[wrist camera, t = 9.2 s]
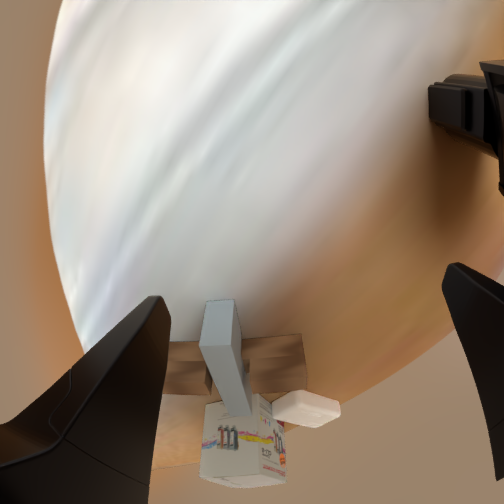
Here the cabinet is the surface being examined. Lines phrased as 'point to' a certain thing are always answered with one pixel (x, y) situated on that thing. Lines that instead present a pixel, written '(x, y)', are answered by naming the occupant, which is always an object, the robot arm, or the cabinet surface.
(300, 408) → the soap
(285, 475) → the ink box
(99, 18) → the cabinet surface
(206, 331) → the light blue block
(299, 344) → the brown boxy piece
